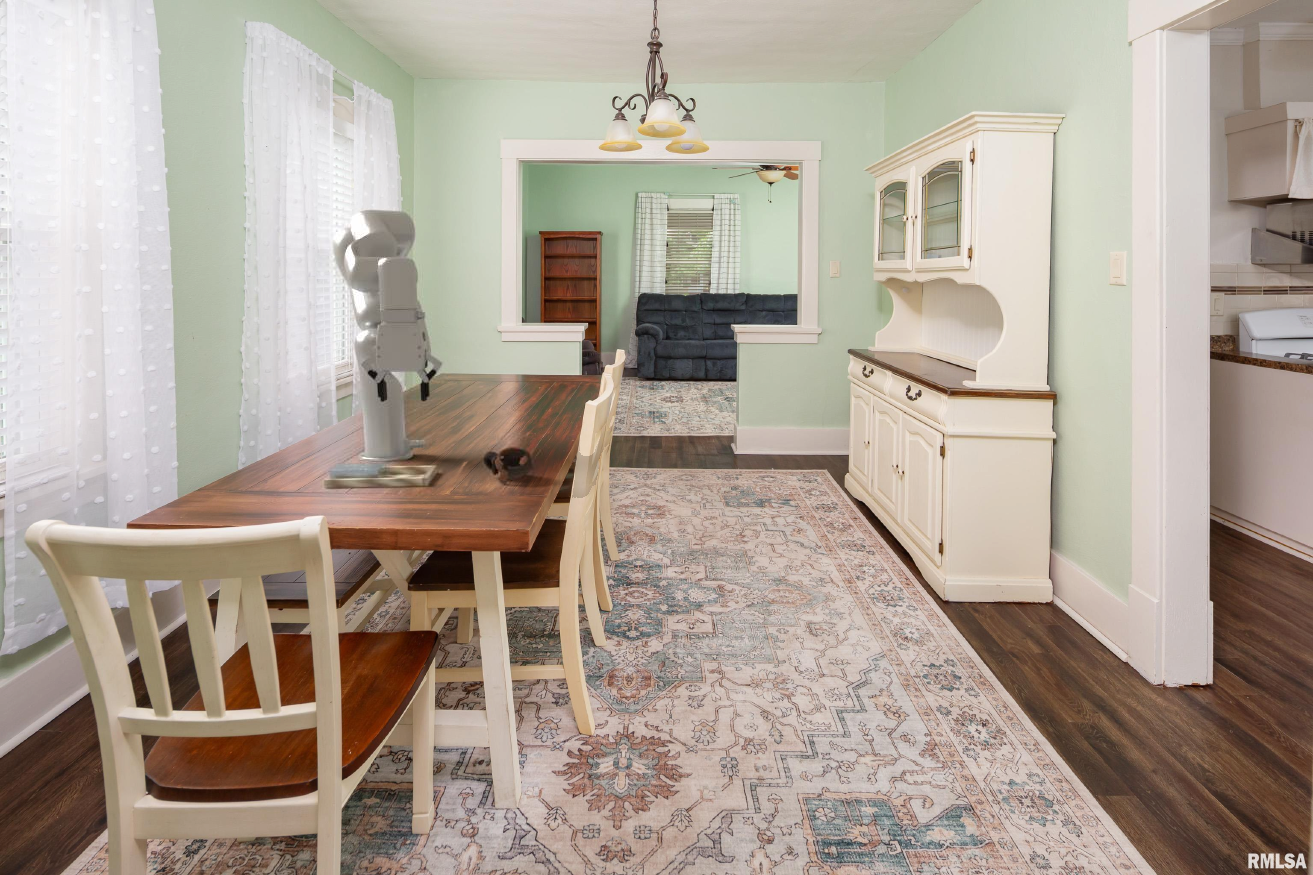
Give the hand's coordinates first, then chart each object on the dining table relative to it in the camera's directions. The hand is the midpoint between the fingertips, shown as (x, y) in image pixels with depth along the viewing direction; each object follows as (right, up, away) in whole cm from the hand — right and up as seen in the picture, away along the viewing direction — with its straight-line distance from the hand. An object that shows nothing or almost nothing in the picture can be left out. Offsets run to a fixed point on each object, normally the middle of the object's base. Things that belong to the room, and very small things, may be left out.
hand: (404, 400), depth 174 cm
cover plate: (-10, -17, +2) cm, 20 cm away
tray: (-5, -18, +3) cm, 19 cm away
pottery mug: (+21, -17, +7) cm, 28 cm away
